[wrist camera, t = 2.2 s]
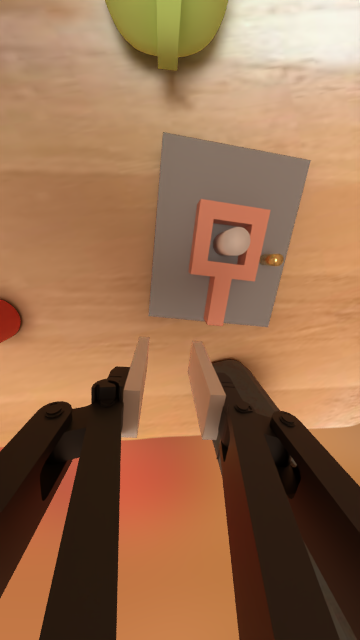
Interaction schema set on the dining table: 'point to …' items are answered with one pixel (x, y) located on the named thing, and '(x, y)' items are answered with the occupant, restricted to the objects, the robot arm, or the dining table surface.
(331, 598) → the bottle
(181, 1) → the teapot
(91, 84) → the dining table surface
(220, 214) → the square nut
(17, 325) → the beer can
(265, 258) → the gold metal capsule
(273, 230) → the board
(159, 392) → the dining table surface
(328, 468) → the robot arm
